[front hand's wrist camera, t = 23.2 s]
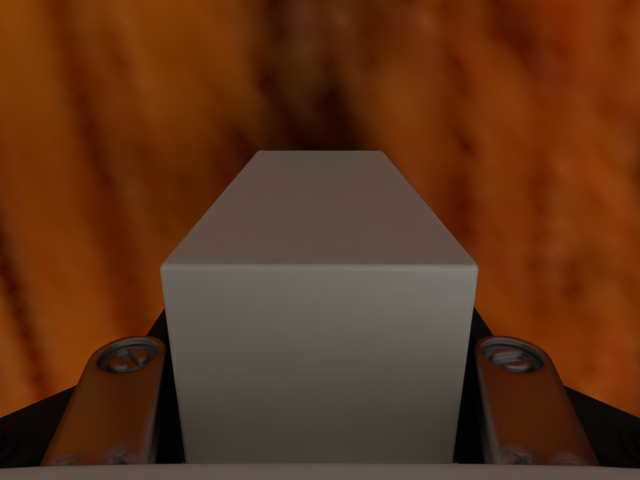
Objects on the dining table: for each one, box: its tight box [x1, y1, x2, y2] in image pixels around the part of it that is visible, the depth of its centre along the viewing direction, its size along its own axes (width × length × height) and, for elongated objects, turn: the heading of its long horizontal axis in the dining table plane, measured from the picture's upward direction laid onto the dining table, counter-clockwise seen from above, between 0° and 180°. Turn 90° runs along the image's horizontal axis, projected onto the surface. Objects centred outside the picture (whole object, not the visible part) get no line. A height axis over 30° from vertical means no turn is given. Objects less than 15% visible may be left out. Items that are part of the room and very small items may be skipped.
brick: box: [160, 151, 478, 464], centre depth 12 cm, size 4×7×10 cm, turn 0°
